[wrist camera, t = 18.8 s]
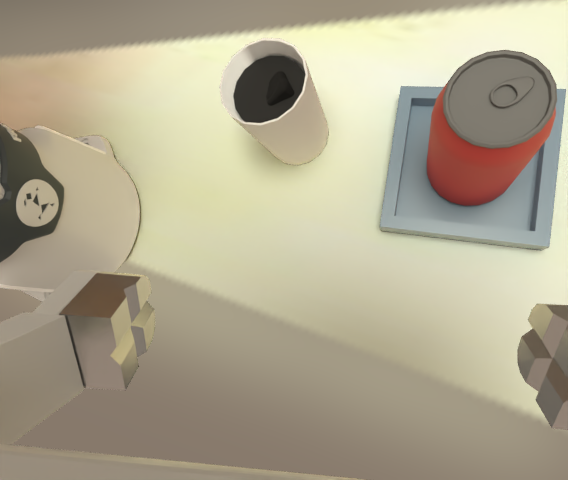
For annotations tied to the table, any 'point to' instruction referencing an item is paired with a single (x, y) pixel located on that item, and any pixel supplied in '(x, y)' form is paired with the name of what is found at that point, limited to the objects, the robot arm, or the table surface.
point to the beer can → (489, 125)
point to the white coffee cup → (275, 100)
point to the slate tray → (458, 218)
